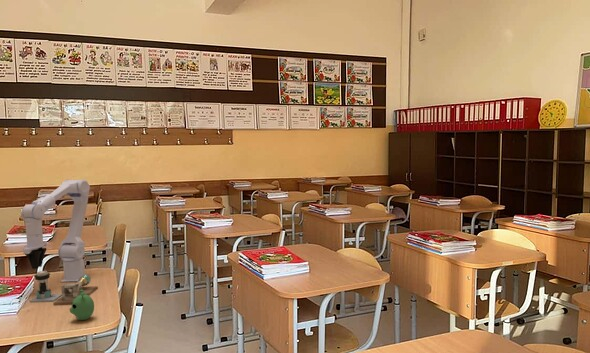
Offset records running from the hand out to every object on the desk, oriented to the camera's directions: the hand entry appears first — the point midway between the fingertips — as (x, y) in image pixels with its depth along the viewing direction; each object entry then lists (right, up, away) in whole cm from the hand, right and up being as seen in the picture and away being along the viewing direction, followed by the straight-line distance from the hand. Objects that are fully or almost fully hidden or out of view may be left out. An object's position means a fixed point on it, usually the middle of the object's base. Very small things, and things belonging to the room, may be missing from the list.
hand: (37, 267), depth 195 cm
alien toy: (+32, -12, -31) cm, 46 cm away
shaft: (+18, -8, -4) cm, 20 cm away
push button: (+7, -10, -7) cm, 14 cm away
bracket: (+18, -10, -5) cm, 22 cm away
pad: (+7, -11, -7) cm, 15 cm away
